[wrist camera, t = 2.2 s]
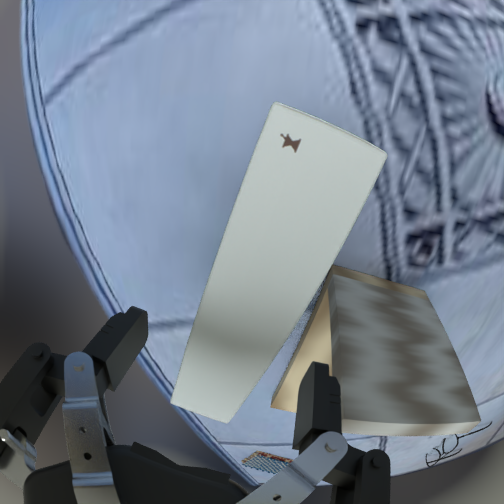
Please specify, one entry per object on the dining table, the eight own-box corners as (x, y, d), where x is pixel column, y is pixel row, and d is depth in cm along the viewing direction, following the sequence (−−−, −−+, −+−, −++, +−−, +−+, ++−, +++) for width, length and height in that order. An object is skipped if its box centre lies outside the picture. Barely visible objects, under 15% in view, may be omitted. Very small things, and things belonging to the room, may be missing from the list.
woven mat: (298, 458, 51) (297, 465, 49) (277, 468, 56) (276, 475, 54) (258, 447, 51) (256, 455, 49) (241, 458, 56) (239, 465, 54)
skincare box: (260, 310, 33) (226, 427, 19) (217, 292, 33) (161, 400, 19) (342, 137, 23) (394, 153, 9) (286, 113, 23) (257, 92, 9)
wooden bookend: (424, 290, 27) (481, 420, 11) (341, 410, 39) (338, 507, 23) (331, 264, 28) (343, 418, 12) (272, 397, 40) (250, 499, 24)
